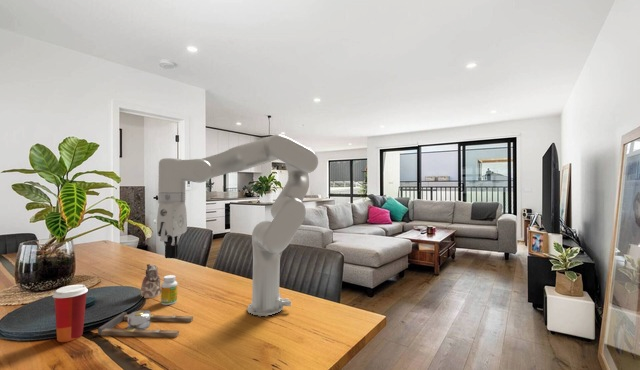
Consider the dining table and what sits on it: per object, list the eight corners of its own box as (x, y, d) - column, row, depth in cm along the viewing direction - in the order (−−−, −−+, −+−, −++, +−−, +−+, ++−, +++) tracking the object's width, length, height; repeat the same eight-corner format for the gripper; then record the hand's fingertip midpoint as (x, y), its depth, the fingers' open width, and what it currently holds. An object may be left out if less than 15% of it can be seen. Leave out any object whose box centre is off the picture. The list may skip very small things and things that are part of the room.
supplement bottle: (170, 306, 107) (170, 279, 107) (157, 304, 108) (158, 278, 108) (180, 300, 112) (180, 275, 112) (167, 299, 114) (168, 273, 114)
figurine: (145, 299, 112) (145, 268, 113) (137, 295, 117) (137, 264, 117) (164, 294, 118) (164, 264, 118) (156, 290, 122) (156, 261, 122)
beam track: (193, 319, 97) (193, 313, 97) (176, 337, 86) (176, 330, 86) (123, 318, 97) (123, 311, 97) (97, 335, 86) (98, 328, 86)
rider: (154, 322, 94) (154, 309, 94) (143, 332, 88) (143, 317, 88) (135, 322, 94) (135, 309, 94) (122, 331, 88) (123, 317, 88)
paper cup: (85, 327, 90) (86, 282, 90) (88, 337, 85) (89, 288, 85) (50, 336, 85) (51, 288, 84) (52, 347, 79) (53, 295, 79)
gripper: (171, 200, 84) (171, 264, 84) (194, 197, 99) (193, 252, 99) (145, 199, 84) (144, 264, 84) (172, 197, 99) (171, 251, 99)
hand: (171, 257), depth 91 cm, fingers closed
